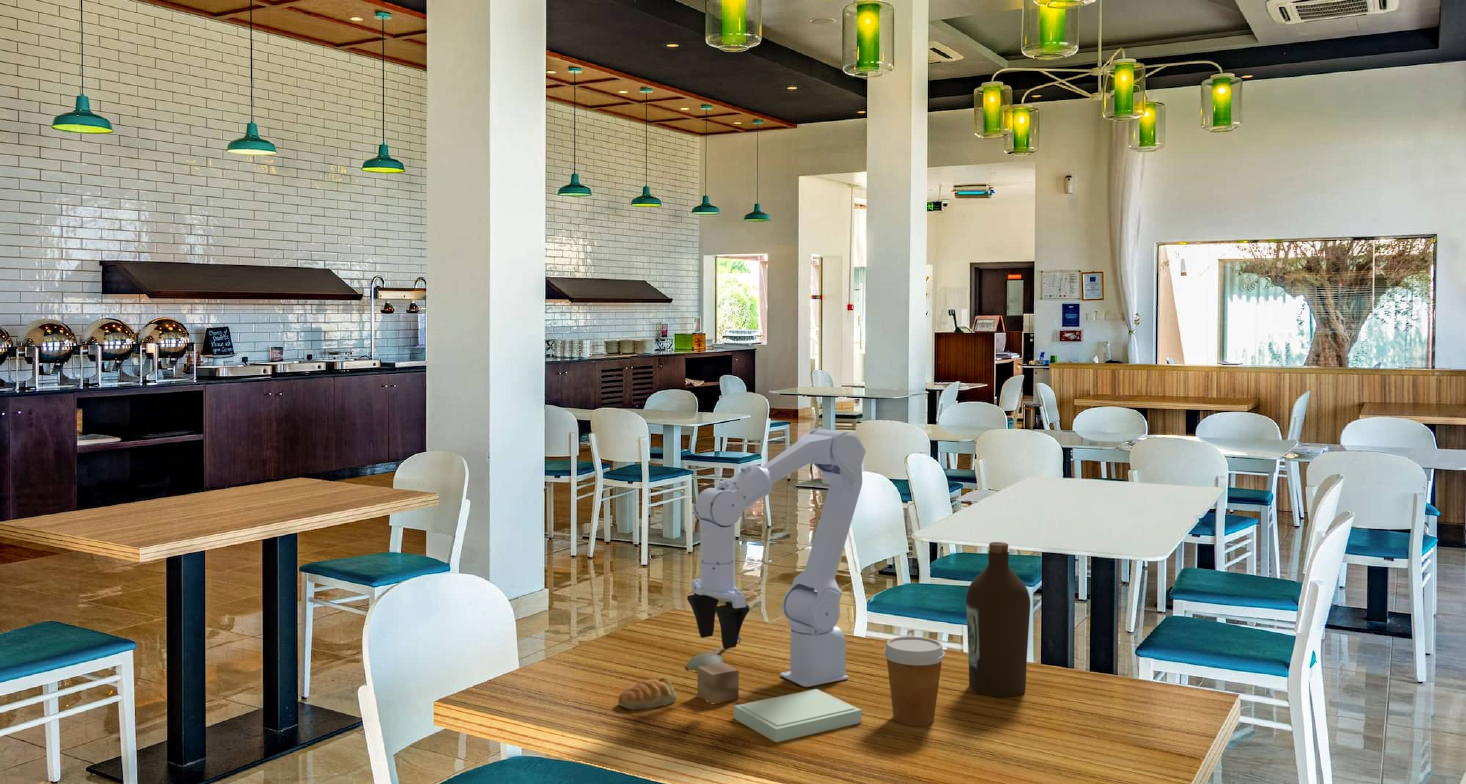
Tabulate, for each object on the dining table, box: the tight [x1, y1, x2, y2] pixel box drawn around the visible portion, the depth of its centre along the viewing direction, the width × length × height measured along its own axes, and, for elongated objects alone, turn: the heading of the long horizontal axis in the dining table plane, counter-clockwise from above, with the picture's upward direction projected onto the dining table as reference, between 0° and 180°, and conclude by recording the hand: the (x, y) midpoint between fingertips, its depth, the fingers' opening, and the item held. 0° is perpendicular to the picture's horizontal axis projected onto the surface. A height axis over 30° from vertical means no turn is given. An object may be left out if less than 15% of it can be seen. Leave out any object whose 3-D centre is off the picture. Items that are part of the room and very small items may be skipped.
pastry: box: [617, 676, 677, 711], centre depth 176 cm, size 9×7×4 cm
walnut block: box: [696, 661, 740, 704], centre depth 179 cm, size 5×5×5 cm
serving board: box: [733, 688, 863, 743], centre depth 168 cm, size 16×12×2 cm
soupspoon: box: [686, 636, 742, 671], centre depth 202 cm, size 22×3×7 cm
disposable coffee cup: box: [883, 635, 946, 727], centre depth 168 cm, size 10×10×12 cm
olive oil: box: [965, 541, 1031, 698], centre depth 183 cm, size 11×11×25 cm
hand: (717, 642), depth 179 cm, fingers open, 7 cm apart
